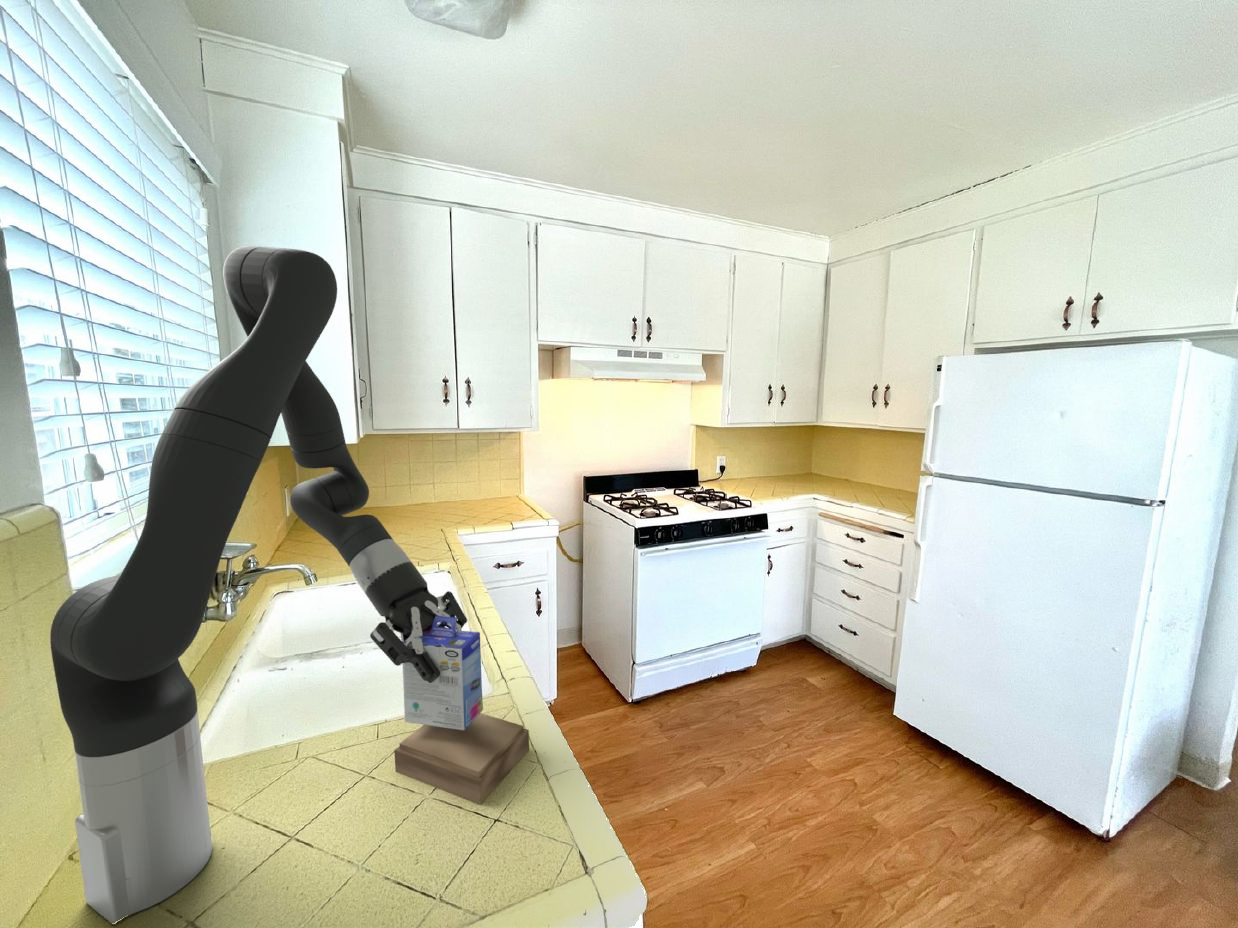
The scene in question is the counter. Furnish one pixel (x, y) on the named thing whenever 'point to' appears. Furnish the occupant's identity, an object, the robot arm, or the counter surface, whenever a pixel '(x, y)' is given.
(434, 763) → the walnut stand
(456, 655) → the ink cartridge box
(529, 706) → the counter surface
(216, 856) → the counter surface
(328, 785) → the counter surface
